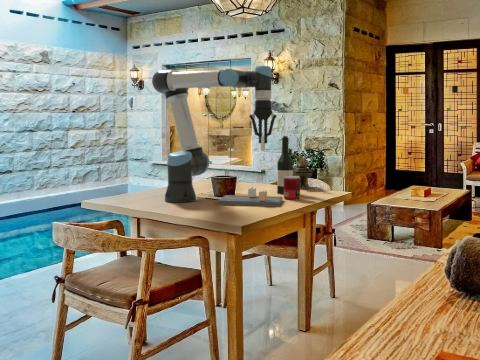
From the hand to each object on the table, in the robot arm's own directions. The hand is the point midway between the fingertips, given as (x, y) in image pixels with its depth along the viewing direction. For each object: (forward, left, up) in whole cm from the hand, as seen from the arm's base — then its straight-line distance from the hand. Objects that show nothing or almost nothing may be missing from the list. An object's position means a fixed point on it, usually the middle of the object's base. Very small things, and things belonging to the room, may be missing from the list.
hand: (263, 150), depth 245 cm
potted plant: (+15, +48, -25) cm, 56 cm away
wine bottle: (+8, +27, -25) cm, 37 cm away
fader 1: (-5, 0, -22) cm, 23 cm away
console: (-5, -4, -24) cm, 25 cm away
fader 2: (+1, -9, -22) cm, 24 cm away
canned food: (+13, +10, -25) cm, 30 cm away
